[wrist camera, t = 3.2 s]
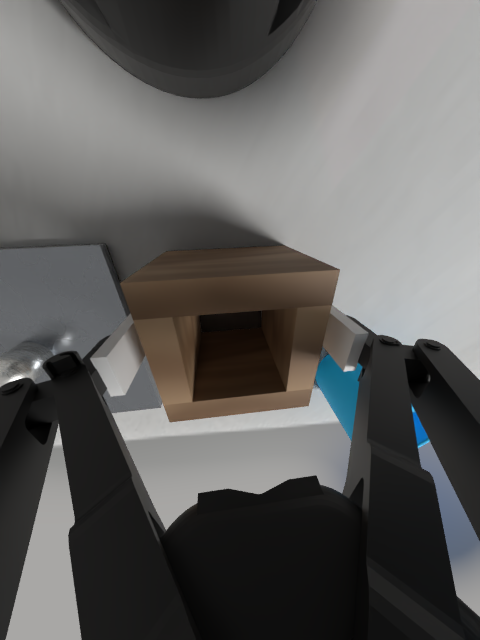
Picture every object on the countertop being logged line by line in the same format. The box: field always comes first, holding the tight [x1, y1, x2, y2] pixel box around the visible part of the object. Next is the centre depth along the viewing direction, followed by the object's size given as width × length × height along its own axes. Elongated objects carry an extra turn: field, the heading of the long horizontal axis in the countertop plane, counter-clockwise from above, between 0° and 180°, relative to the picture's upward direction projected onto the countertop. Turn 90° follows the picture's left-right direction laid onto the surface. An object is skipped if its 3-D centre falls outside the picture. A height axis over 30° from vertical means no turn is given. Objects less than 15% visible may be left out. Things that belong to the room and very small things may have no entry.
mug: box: [315, 354, 430, 448], centre depth 20 cm, size 12×8×8 cm
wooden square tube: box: [120, 245, 340, 422], centre depth 15 cm, size 14×10×8 cm, turn 2°
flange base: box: [0, 244, 162, 413], centre depth 16 cm, size 18×18×4 cm
